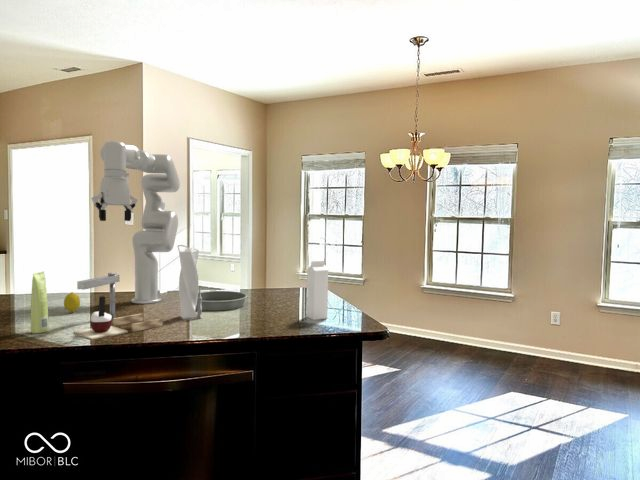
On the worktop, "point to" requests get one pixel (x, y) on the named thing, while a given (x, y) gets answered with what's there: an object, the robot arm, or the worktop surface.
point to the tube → (39, 304)
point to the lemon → (72, 302)
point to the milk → (317, 290)
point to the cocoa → (101, 318)
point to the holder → (136, 319)
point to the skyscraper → (189, 285)
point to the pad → (100, 333)
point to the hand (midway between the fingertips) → (115, 220)
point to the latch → (100, 281)
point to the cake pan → (222, 300)
